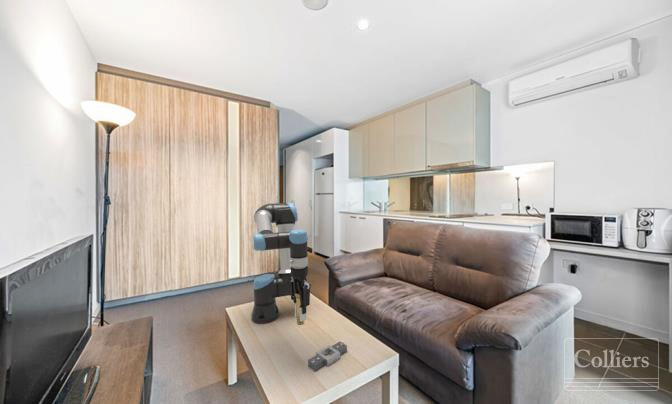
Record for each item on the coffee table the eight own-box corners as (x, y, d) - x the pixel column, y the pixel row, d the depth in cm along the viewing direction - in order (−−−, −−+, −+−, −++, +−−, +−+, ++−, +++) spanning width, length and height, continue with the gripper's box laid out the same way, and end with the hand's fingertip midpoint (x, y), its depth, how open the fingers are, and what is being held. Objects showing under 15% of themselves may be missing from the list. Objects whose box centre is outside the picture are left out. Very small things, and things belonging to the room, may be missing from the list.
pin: (293, 323, 112) (293, 293, 111) (301, 319, 115) (301, 290, 114) (299, 326, 109) (298, 296, 108) (307, 323, 112) (306, 293, 111)
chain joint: (317, 373, 99) (316, 366, 99) (306, 364, 105) (305, 357, 104) (349, 352, 112) (349, 346, 111) (337, 345, 117) (337, 339, 117)
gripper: (281, 263, 113) (283, 314, 115) (303, 272, 102) (304, 329, 103) (295, 260, 118) (297, 309, 120) (317, 268, 107) (318, 322, 108)
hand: (300, 318), depth 112 cm, fingers closed on pin, 3 cm apart
